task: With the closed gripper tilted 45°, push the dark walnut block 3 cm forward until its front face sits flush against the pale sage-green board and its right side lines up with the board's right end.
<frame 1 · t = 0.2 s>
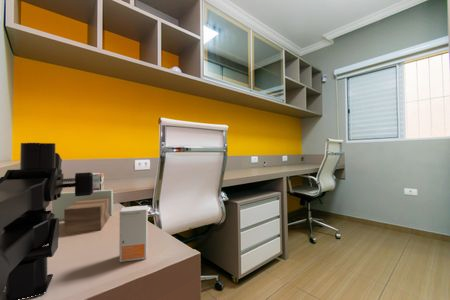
hand: (57, 183, 62), 16 cm above the table, tool horizontal, fingers open, 9 cm apart
sage board: (84, 216, 84), on the table
walnut block: (89, 225, 74), on the table
candy bar box: (96, 211, 92), on the table
skincare box: (134, 257, 52), on the table
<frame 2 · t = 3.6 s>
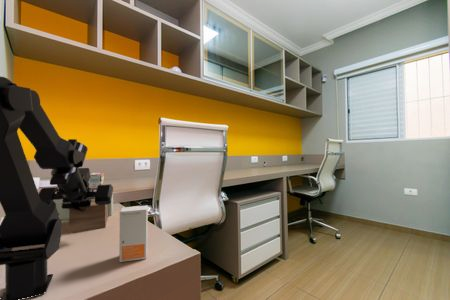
hand: (83, 210, 69), 7 cm above the table, tool tilted 45°, fingers closed
walnut block: (90, 223, 76), on the table
everything else where it was.
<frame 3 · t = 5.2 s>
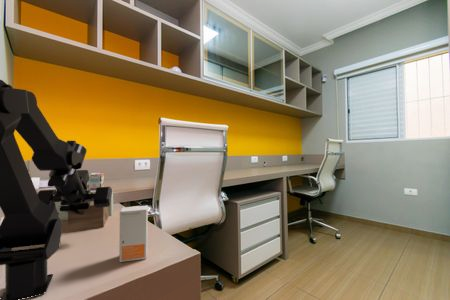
hand: (82, 213, 68), 6 cm above the table, tool tilted 45°, fingers closed
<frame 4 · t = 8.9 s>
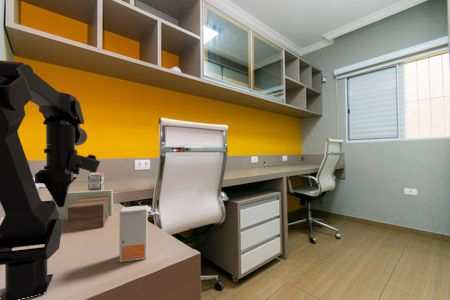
hand: (61, 206, 53), 12 cm above the table, tool pointing down, fingers closed
nothing on the table moved.
at the end: walnut block 0.5 cm from the target spot on the table beside the sage board, on the table; walnut block tilted 0° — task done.
